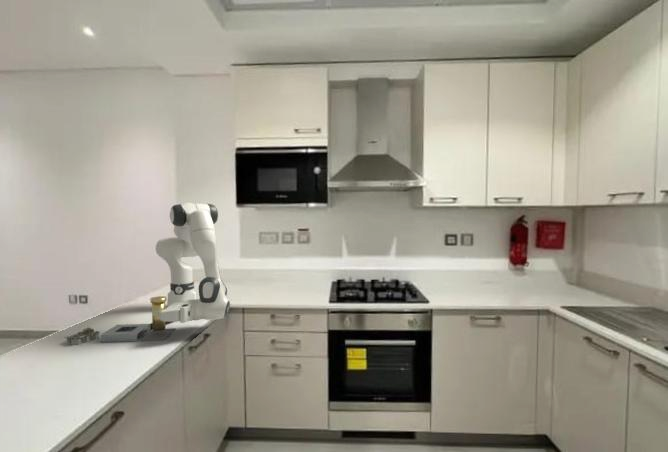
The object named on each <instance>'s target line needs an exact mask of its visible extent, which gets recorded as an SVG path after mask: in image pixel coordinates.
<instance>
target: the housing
mask: <svg viewBox="0 0 668 452" xmlns="http://www.w3.org/2000/svg"><path fill="white" fill-rule="evenodd" d="M151 331H152V329H151V323H135V324H133V323H129V324H128V323H127V324H126V323H125V324H116V325H114V326H113V327H111V328H110V329H108V330H107V331H104V332H103V333H102V334H100V336H99V337H100V343H122V342H123V343H124V342H126V343H127V342H138V341H139V340H141V339H142V338H144V337H145V336H146V335H147V334H149V333H150V332H151Z"/></svg>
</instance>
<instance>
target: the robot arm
mask: <svg viewBox="0 0 668 452" xmlns="http://www.w3.org/2000/svg"><path fill="white" fill-rule="evenodd" d="M218 212H219V211H218V208H217V207H216V205H214V204H212V203H211V204H210V203H199V202H198V203H194V202H185V203H182V204H181V203H179V204H174V205H173V206H171V208H170V211H169V219H170V222H171V224H172V225H173V226H174V227H173V233H174V235H175V237H165V238H161V239H160V238H159V240H158V241H157V242H156V244H155V252H156V255H158V257H160V258H161V259H162V260H164V261H165V262H166V263H167V265H168V267H169V270H170V285H169V287H170V289H169V290H170V291H169V292H168V293H167V301H166V305H165V309H164V310H162V311H159V310H155V311H153V315H158V316H160V320H161V321H166V322H172V323H175V322H176V323H177V322H179V323H181V324H184V323H188V322H190V321H199V320H206V321H211V320H212V321H213V320H220V319H224V318H226V317H227V316H228V314H229V311H230V307H231V306H230V305H231V302H230V300H229V299H228V297H227V295H228V288H227V285H225V283H224V282H223V280H222V277H221V275H220V269H219V263H218V258H217V237H216V230H215V224H216V223H217V221H218V218H219V213H218ZM192 257H193V258H194V257H199V259H200V260H201V262H202V265H203V269H204V274H205V277H204V278H203V279H202V280H200V282H199V284H198V292H197V290H196V289H195V281H194V272H193V271H194V269H193V267H192V266H191V264H188V263H186V262H182V258H192ZM198 297H199V298H198Z"/></svg>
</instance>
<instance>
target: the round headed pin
mask: <svg viewBox="0 0 668 452" xmlns="http://www.w3.org/2000/svg"><path fill="white" fill-rule="evenodd" d="M167 298H168V296H163V295H162V296H161V295H160V296H154V297H151V298H150V304H151V312H152V313H151V316H152V317H151V320H152V322H151V323H152V329H151V331H162V330H165V329H166V325H165V321H161V320H160V316H158V315H153V311H155V310H159V311H162V310H164V309H165V306H166V303H167Z"/></svg>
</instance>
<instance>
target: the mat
mask: <svg viewBox="0 0 668 452" xmlns="http://www.w3.org/2000/svg"><path fill="white" fill-rule="evenodd" d="M174 331H176V328H175V327H174V328H172V327H171V328H165V330H162V331H152V330H151V331H149V332H148V333H147V334H146V335H144V336H143V337H142V338H141V339H140V342H152V341H155V342H156V341H165V340H167V338H168V337H169V336H170V335H171V334H173V333H174Z"/></svg>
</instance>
